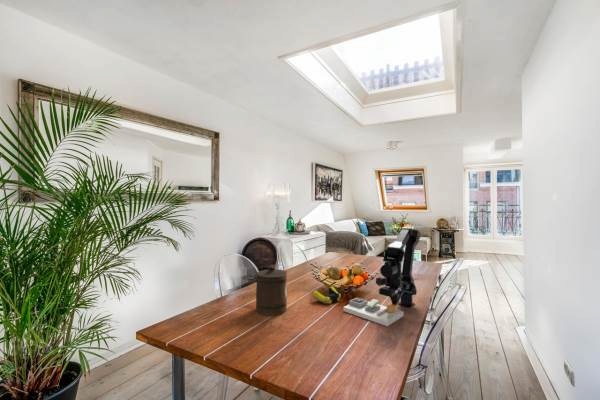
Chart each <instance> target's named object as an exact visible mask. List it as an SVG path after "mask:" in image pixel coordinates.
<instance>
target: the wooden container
mask: <svg viewBox="0 0 600 400" xmlns="http://www.w3.org/2000/svg"><path fill="white" fill-rule="evenodd" d="M267 266H268V267H267V268H268V269H263V270H260V271H257V273H256V290H255V291H256V292H255V294H256V295H255V298H256V300H255V311H256V313H258V314H259V315H261V316H269V317H272V316H279V315H281V314H284V313H285V312H286V311H287V307H288V306H287V301H288V300H287V299H288V297H287V296H288V295H287V291H288V290H287V280H288V279H287V278H288V277H287V275H288V274H287V273H288V272H287V271H286V270H282V269H278V268H277V269H276V266H275V264H269V265H267Z"/></svg>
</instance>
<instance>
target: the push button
mask: <svg viewBox="0 0 600 400" xmlns="http://www.w3.org/2000/svg"><path fill="white" fill-rule="evenodd" d="M362 299H363V298H360V299H355V300H354V302H357V303H362V302H363V300H364V299H363V300H362Z"/></svg>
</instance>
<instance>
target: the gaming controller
mask: <svg viewBox="0 0 600 400" xmlns="http://www.w3.org/2000/svg"><path fill="white" fill-rule="evenodd" d="M312 295H313V298H315V299H316V300H317V301H319V302H321V303H322V304H324V305H327V304H330V305H331V304H333V303H336V302H340V300H341V293H340V292H338V291H337V290H336V288H335V287H333V286H329V287H328V293H327V294H326V295H323V294H321V293H320V292H318V291H317V290H315V291H313V293H312Z"/></svg>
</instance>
